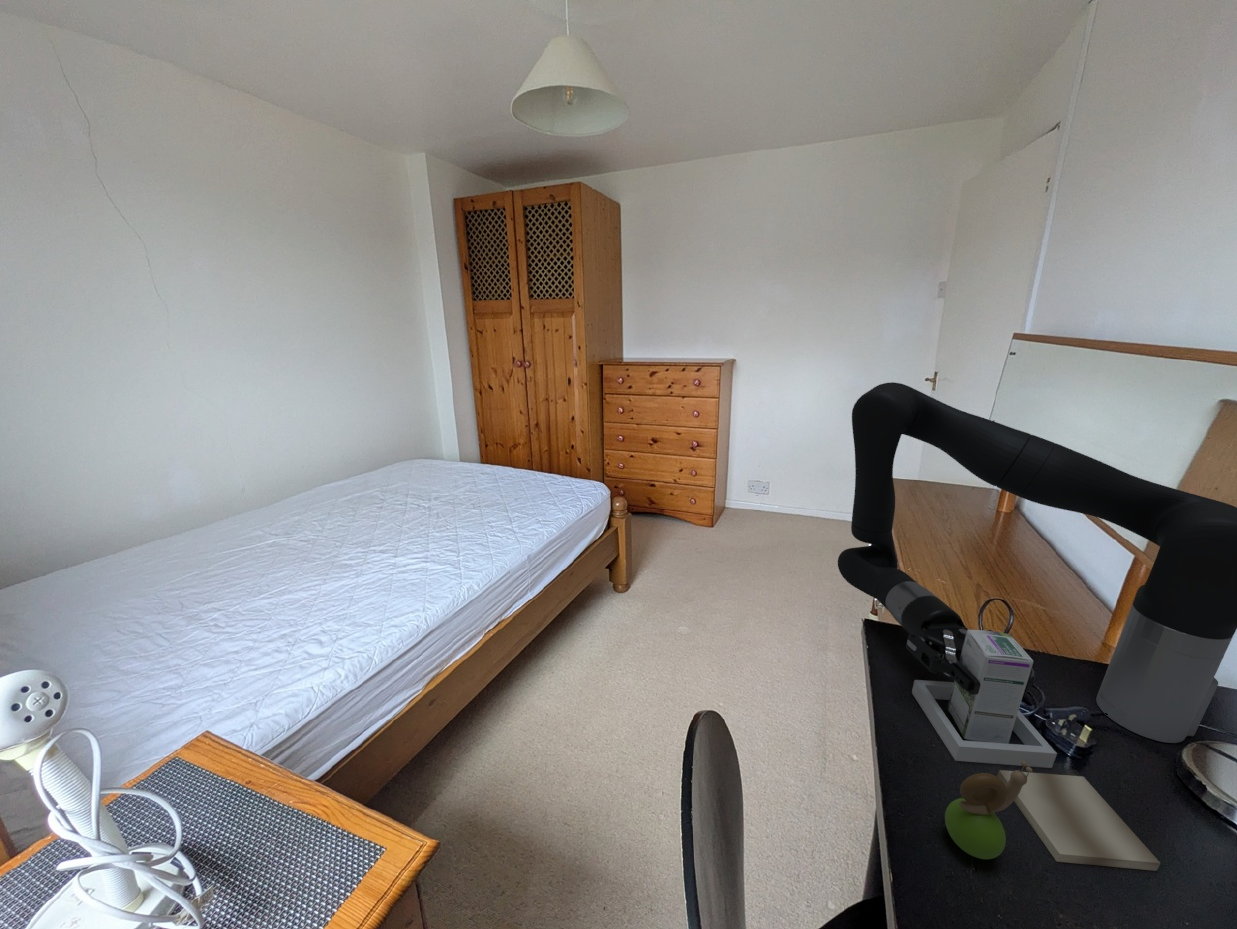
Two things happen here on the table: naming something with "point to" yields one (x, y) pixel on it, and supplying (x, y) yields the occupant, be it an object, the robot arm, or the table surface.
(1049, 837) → the birch pad
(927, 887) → the table surface
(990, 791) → the snail figurine
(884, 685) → the table surface
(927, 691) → the grey square frame
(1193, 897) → the table surface
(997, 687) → the syrup box
